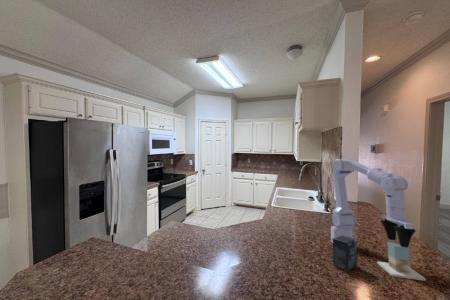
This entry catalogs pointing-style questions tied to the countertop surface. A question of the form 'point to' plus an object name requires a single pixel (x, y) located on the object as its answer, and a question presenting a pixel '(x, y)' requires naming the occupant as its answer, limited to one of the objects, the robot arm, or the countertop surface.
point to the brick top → (398, 251)
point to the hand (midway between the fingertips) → (397, 243)
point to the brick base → (399, 264)
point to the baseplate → (401, 274)
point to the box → (344, 252)
